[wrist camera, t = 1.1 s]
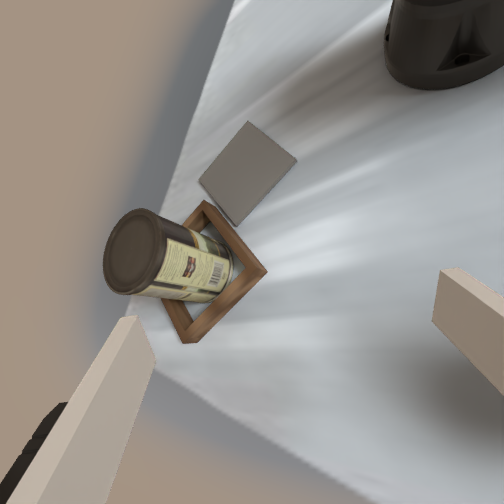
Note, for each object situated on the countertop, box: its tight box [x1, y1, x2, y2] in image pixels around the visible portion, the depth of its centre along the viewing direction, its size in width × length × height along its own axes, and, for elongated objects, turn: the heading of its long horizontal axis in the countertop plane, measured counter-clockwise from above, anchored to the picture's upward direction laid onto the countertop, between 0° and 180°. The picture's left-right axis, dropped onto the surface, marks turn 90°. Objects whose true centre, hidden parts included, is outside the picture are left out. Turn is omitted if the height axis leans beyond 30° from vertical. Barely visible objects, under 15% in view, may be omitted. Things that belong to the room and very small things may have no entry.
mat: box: [199, 121, 297, 226], centre depth 44 cm, size 13×13×1 cm
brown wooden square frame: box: [161, 200, 267, 344], centre depth 42 cm, size 15×15×3 cm
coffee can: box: [103, 208, 233, 303], centre depth 38 cm, size 10×10×14 cm
